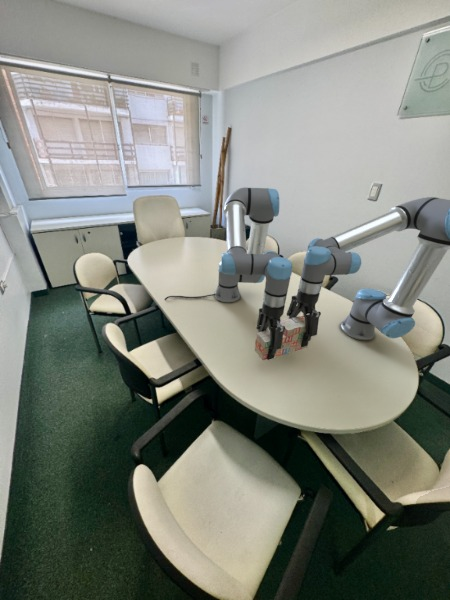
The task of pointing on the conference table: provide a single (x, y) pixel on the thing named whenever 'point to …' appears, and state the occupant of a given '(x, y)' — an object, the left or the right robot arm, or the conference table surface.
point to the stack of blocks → (290, 338)
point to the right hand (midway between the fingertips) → (297, 338)
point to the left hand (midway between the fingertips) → (265, 352)
